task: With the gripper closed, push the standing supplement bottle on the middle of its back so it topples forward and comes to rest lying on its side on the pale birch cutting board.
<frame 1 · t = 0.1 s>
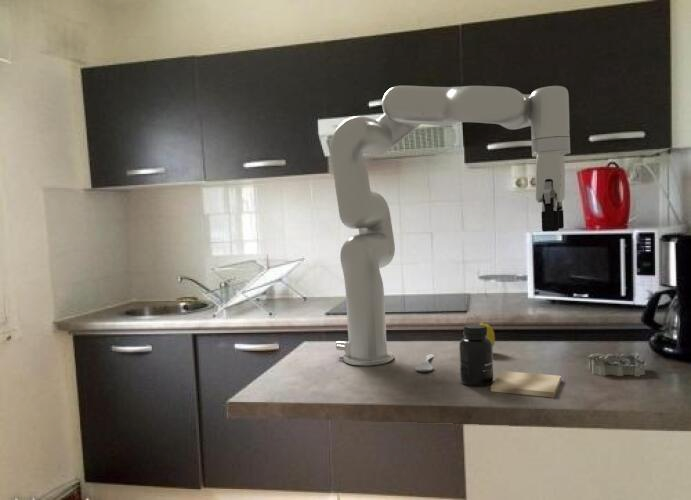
hand: (553, 229, 117), 31 cm above the countertop, fingers open, 9 cm apart
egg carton: (616, 373, 120), on the countertop
cutting board: (526, 385, 113), on the countertop
supplement bottle: (477, 383, 117), on the countertop
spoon: (428, 364, 135), on the countertop
lemon: (484, 354, 140), on the countertop
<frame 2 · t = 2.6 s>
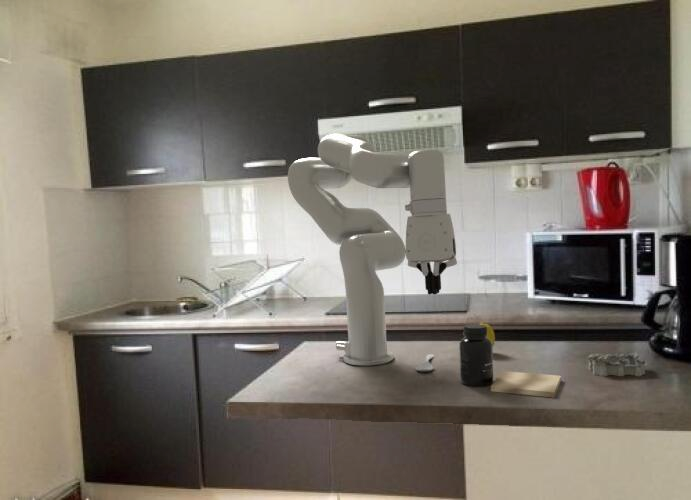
hand: (433, 293, 120), 19 cm above the countertop, fingers closed
nothing on the countertop moved.
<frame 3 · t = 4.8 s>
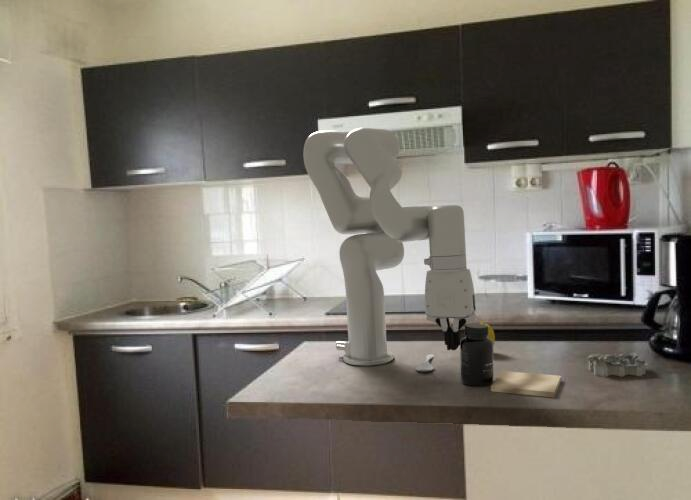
hand: (452, 348, 119), 7 cm above the countertop, fingers closed
supplement bottle: (477, 382, 117), on the countertop, touching gripper
everything else where it was.
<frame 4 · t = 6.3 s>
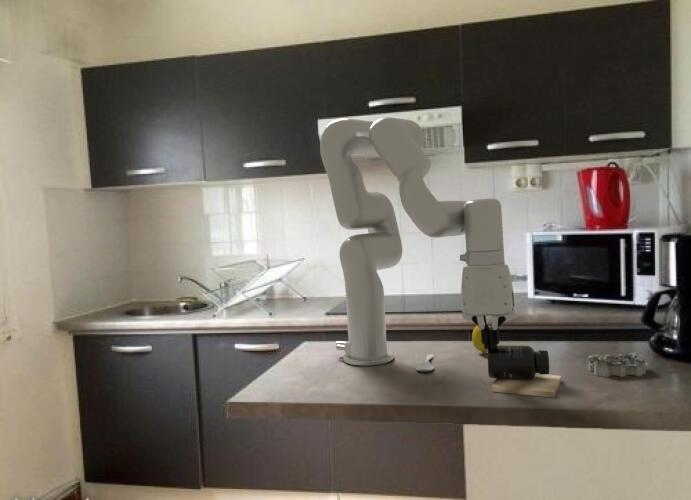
hand: (490, 347, 115), 8 cm above the countertop, fingers closed
supplement bottle: (486, 361, 117), point 4 cm above the countertop, touching cutting board, gripper
everything else where it was.
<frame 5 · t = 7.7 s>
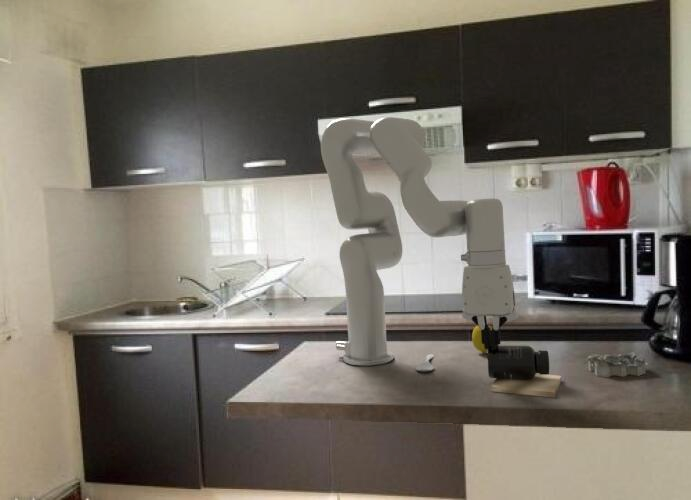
hand: (491, 347, 115), 8 cm above the countertop, fingers closed
nothing on the countertop moved.
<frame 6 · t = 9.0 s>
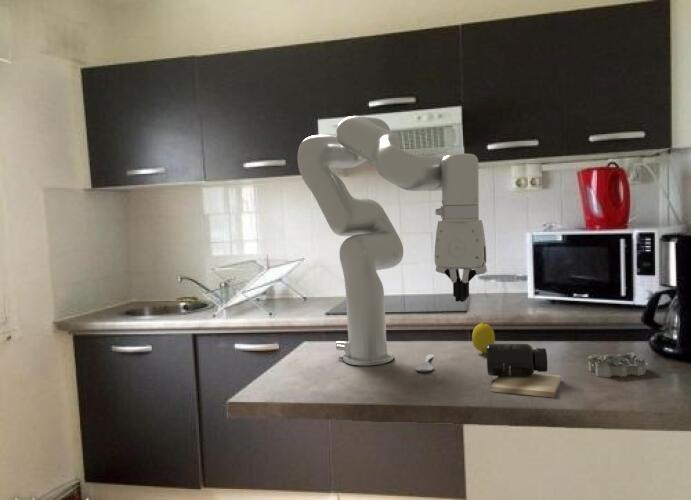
hand: (461, 300, 118), 17 cm above the countertop, fingers closed
supplement bottle: (485, 359, 118), point 4 cm above the countertop, touching cutting board
everything else where it was.
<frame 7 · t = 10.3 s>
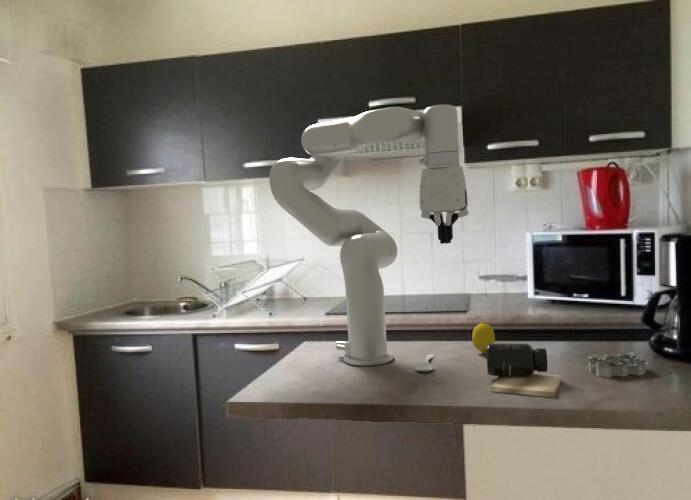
hand: (445, 243, 126), 29 cm above the countertop, fingers closed
nothing on the countertop moved.
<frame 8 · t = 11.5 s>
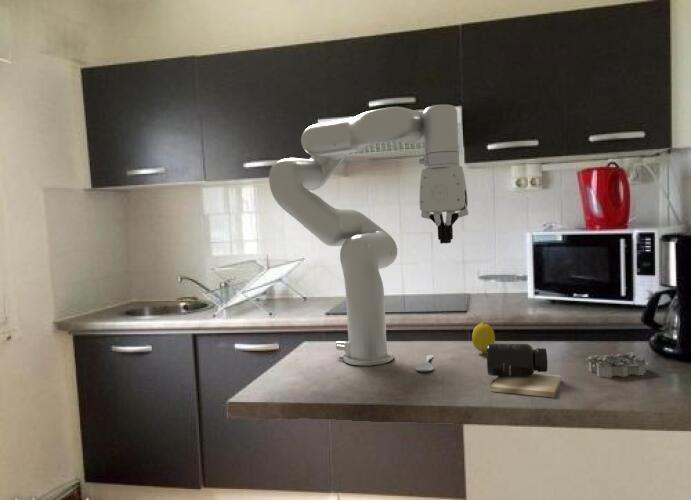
hand: (445, 242, 126), 29 cm above the countertop, fingers closed
nothing on the countertop moved.
at the end: supplement bottle tilted 90°; supplement bottle inside the target area (7.3 cm from its centre), point 4.3 cm above the countertop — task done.
